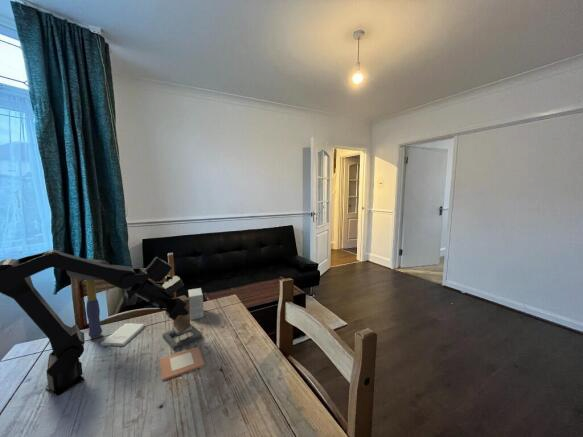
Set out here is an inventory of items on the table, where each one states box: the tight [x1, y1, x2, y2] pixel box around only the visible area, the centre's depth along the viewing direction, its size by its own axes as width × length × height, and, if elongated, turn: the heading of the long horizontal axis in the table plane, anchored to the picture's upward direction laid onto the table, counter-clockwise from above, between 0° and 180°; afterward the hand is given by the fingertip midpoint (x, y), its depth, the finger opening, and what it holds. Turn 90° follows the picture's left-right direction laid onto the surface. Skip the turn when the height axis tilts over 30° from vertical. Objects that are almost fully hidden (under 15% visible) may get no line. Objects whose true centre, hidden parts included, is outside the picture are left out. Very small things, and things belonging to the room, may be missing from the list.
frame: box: [162, 323, 203, 351], centre depth 93 cm, size 10×10×2 cm
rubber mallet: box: [65, 258, 111, 339], centre depth 91 cm, size 12×8×30 cm, turn 80°
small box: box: [187, 287, 205, 321], centre depth 110 cm, size 8×6×10 cm
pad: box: [159, 346, 206, 382], centre depth 80 cm, size 12×10×1 cm
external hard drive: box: [100, 322, 146, 347], centre depth 95 cm, size 2×8×12 cm
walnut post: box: [171, 294, 193, 336], centre depth 92 cm, size 5×5×12 cm
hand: (185, 311), depth 93 cm, fingers closed on walnut post, 4 cm apart
